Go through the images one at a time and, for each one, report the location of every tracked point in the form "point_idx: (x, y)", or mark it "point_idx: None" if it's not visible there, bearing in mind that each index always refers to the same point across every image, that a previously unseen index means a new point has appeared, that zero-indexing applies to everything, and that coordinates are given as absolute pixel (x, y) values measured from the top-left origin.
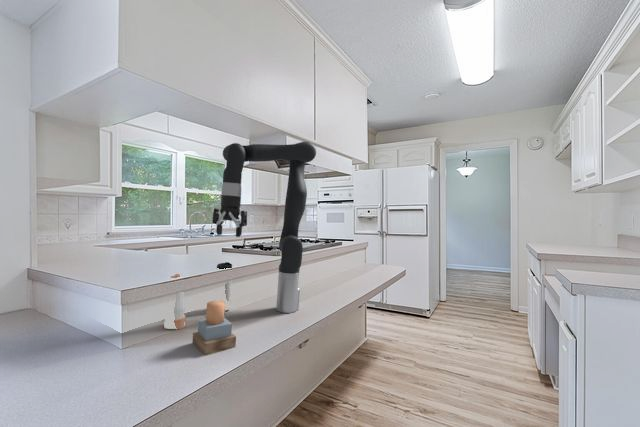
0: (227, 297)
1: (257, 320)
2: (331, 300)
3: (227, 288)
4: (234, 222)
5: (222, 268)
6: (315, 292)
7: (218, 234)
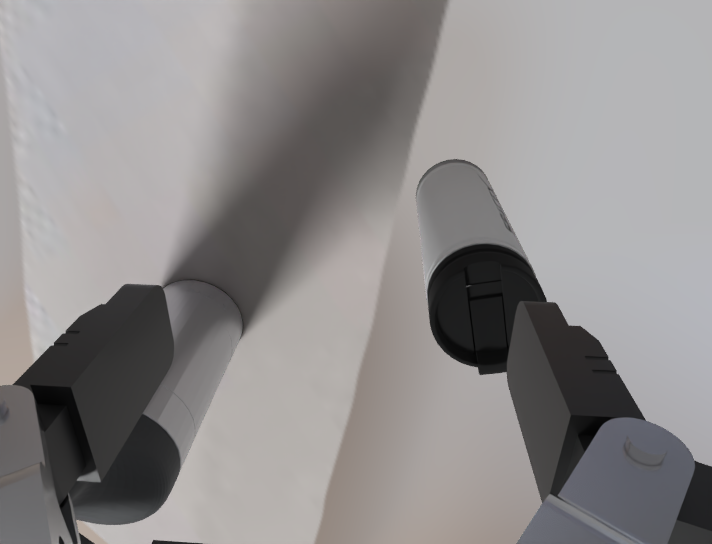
0: (421, 209)
1: (227, 147)
2: None
3: (425, 225)
4: (33, 465)
5: (472, 260)
6: (216, 536)
7: (524, 301)
